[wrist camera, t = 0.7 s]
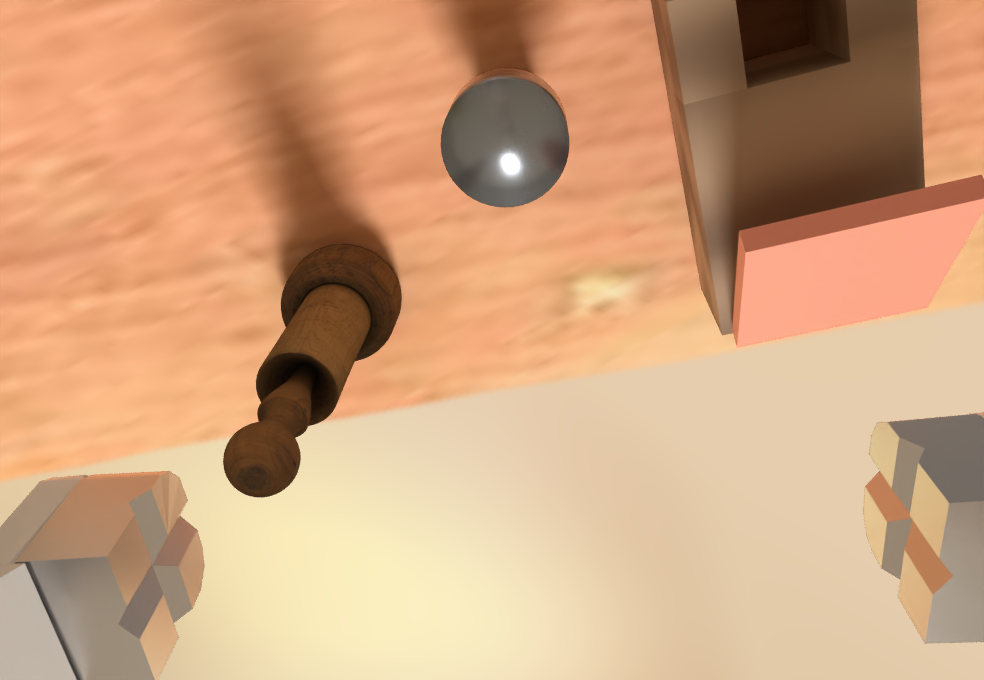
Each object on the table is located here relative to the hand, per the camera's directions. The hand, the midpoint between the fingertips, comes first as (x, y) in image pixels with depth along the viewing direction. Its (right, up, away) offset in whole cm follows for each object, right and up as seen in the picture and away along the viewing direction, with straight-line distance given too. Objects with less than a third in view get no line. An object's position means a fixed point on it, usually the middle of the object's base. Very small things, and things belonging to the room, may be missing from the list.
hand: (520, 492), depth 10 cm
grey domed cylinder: (+1, +14, +34) cm, 36 cm away
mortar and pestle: (-9, +5, +39) cm, 40 cm away
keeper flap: (+15, +5, +27) cm, 31 cm away
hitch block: (+14, +14, +33) cm, 38 cm away
